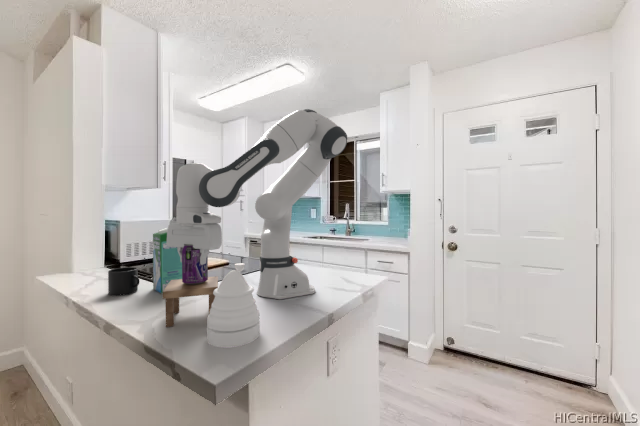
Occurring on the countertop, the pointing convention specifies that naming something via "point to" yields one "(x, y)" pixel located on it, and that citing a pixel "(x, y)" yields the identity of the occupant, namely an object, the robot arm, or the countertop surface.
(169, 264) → the milk carton
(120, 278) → the mug
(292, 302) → the countertop surface
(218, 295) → the honey pot
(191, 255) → the beverage can
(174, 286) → the walnut stool
